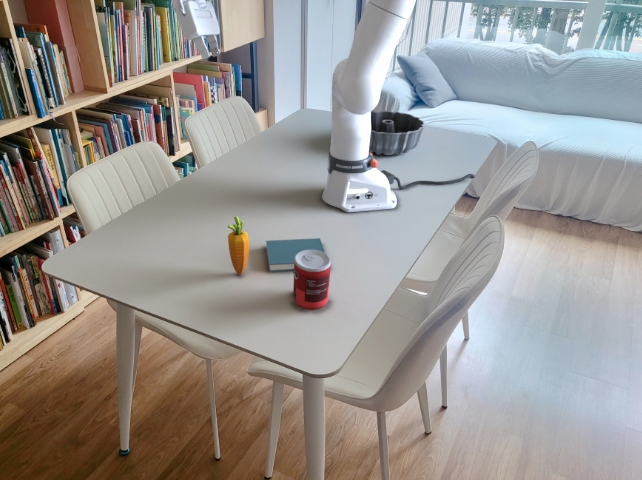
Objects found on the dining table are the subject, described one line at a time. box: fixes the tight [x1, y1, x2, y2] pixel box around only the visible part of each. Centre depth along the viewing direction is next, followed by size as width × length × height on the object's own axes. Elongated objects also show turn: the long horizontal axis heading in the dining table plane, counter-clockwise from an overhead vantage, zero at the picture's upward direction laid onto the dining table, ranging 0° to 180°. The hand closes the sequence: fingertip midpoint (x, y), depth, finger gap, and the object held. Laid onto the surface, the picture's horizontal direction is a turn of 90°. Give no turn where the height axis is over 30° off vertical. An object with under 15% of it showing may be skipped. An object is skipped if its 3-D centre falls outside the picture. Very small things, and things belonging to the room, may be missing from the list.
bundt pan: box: [369, 110, 425, 156], centre depth 192 cm, size 26×26×10 cm
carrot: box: [227, 216, 250, 276], centre depth 120 cm, size 5×5×15 cm
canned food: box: [292, 250, 332, 311], centre depth 114 cm, size 8×8×11 cm
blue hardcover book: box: [265, 237, 326, 273], centre depth 130 cm, size 14×11×2 cm
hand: (211, 56), depth 126 cm, fingers open, 8 cm apart
